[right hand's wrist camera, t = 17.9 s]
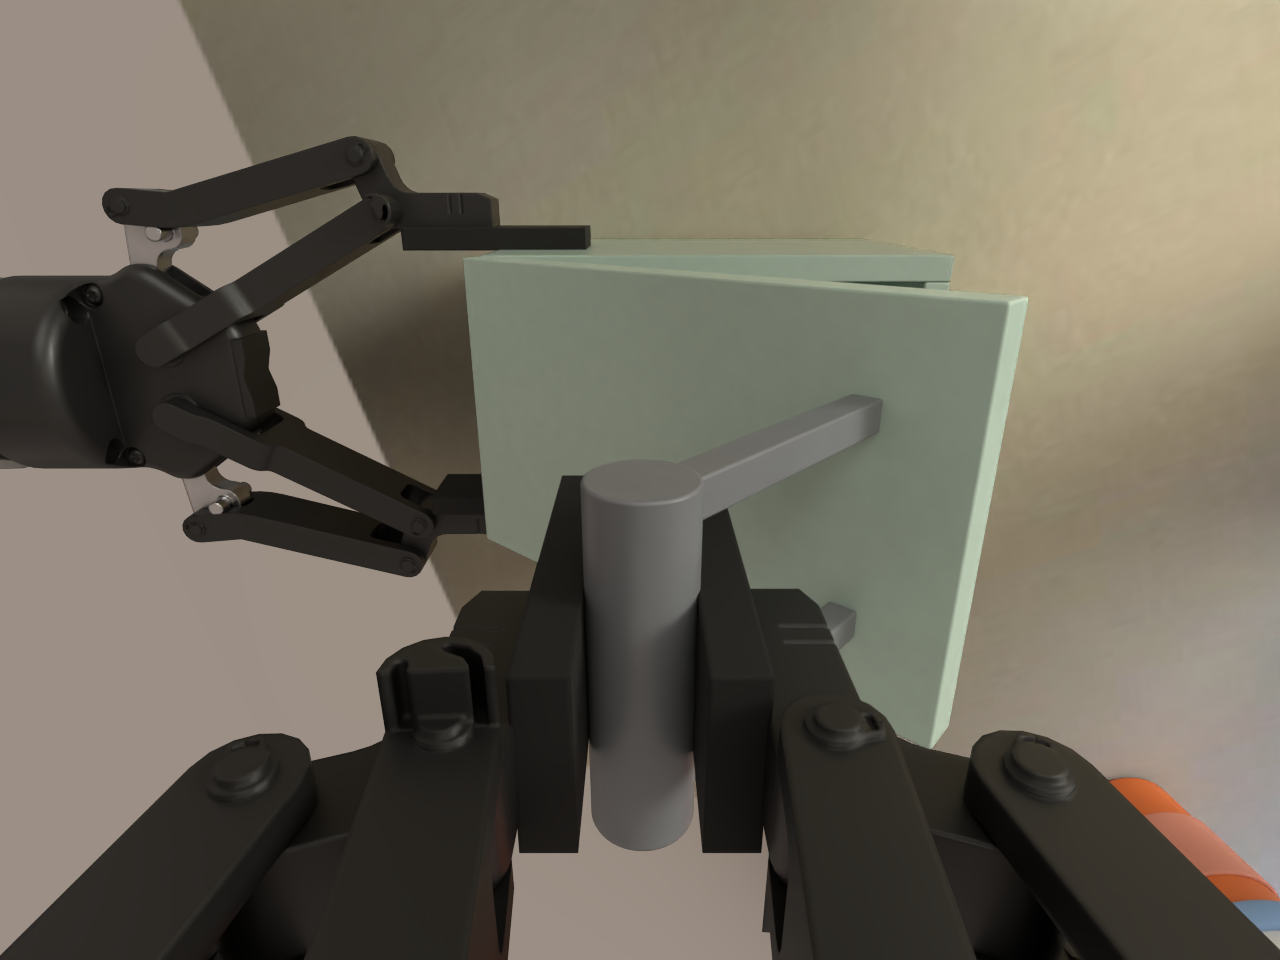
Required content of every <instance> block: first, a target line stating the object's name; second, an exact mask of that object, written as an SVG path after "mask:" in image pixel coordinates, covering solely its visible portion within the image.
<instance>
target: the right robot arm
mask: <svg viewBox="0 0 1280 960" xmlns="http://www.w3.org/2000/svg"><path fill="white" fill-rule="evenodd" d="M583 476H584V475H562V478H561V481H560V485H559V488H558V492H557V495H556V499H555V502H554V506H553V509H552V513H551V517H550V520H549V524H548V527H547V531H546V534H545V538H544V541H543V545H542V549H541V552H540V556H539V559H538V563H537V566H536V570H535V573H534V577H533V580H532V584H531V588H530V591H481V592H480V593H479V594H478V595H476V596H475V597H474V598H473V599H472V600H470V601H469V602H468V603H467V604H466V605H464V606H463V607H462V609H461V611H460V613H459V616H458V618H457V620H456V622H455V625H454V630H453V631H452V632H451V634H450V636H449V637H441V638H434V639H428V640H423V641H420V642H417V643H414V644H412V645H409V646H406V647H404V648H402V649H400V650H399V651H397V652H396V653H394V654H393V655H391V656H390V657H388V658H387V659H386V660H385V661H384V663H383V664H382V665H381V667H380V668H379V669H378V671H377V672H376V676H377V682H378V688H379V695H380V701H381V707H382V713H383V720H384V726H385V734H384V737H383V740H382V741H380V742H378V743H376V744H374V745H372V746H369V747H366V748H363V749H359V750H356V751H353V752H348V753H344V754H340V755H336V756H331V757H327V758H322V759H318V760H313V761H311V757H310V752H309V749H308V748H307V747H306V746H305V745H304V744H303V743H302V741H301V740H300V739H298V738H295V737H292V736H288V735H285V734H282V733H279V734H257V735H253V736H250V737H246V738H242V739H238V740H234V741H232V742H230V743H228V744H226V745H224V746H222V747H220V748H218V749H215V750H213V751H211V752H209V753H208V754H207V755H206V756H204V757H203V758H202V759H200V760H199V761H198V762H197V763H195V764H194V765H193V766H191V767H190V768H189V769H188V770H187V771H186V772H185V773H184V774H183V775H182V776H181V777H180V778H179V779H178V780H177V781H176V782H175V783H174V784H173V785H172V786H171V787H170V788H169V789H168V790H167V791H166V792H165V793H164V794H163V795H162V796H161V797H160V798H159V799H158V800H157V801H156V802H155V803H154V804H153V805H152V806H151V807H150V808H149V809H148V810H147V811H146V812H145V813H143V814H142V815H141V816H140V817H139V818H138V819H137V820H136V821H135V822H134V823H133V824H132V825H131V826H130V827H129V828H128V829H127V830H126V831H125V832H124V833H123V834H122V835H121V836H120V837H119V838H118V839H117V840H116V841H115V842H114V843H113V844H112V845H111V846H110V847H109V848H108V849H107V850H106V851H105V852H104V853H103V854H102V855H101V856H100V857H99V858H98V859H97V860H96V861H95V862H94V863H93V864H92V865H91V866H90V867H89V868H88V869H87V870H86V871H85V872H84V873H83V874H82V875H81V876H80V877H79V878H78V879H77V880H76V881H75V882H74V883H73V884H72V885H71V886H70V887H69V888H68V889H67V890H66V891H65V892H64V893H63V894H62V895H61V896H60V897H59V898H58V899H57V900H56V901H55V902H54V903H53V904H52V905H51V906H50V907H49V908H48V909H47V910H46V911H45V912H44V913H43V914H42V915H41V916H40V917H39V918H38V919H37V920H36V921H35V922H34V923H33V924H32V925H31V926H30V927H29V928H28V929H27V930H25V932H23V933H22V934H21V935H20V936H19V937H18V938H17V939H16V940H15V941H14V942H13V943H12V944H11V945H10V946H9V947H8V948H7V949H6V950H5V951H4V952H3V953H2V954H1V955H0V960H508V950H509V939H510V928H511V917H512V905H513V894H514V882H513V871H512V859H511V858H512V853H513V848H514V843H515V838H516V833H517V829H518V841H519V853H578V848H579V837H580V826H581V816H582V805H583V795H584V784H585V774H586V763H587V752H588V742H589V721H588V692H587V663H586V633H585V603H584V575H583V545H582V516H581V487H580V484H581V480H582V478H583ZM693 757H694V767H695V778H696V788H697V799H698V809H699V820H700V830H701V841H702V851H703V853H761V849H762V837H763V826H764V831H765V836H766V841H767V846H768V851H769V859H768V871H767V882H766V894H765V905H764V916H763V928H762V932H770V937H771V949H772V960H1280V949H1279V948H1278V947H1277V946H1276V945H1275V944H1274V943H1273V942H1272V941H1271V940H1270V939H1269V938H1268V937H1267V936H1266V935H1265V934H1264V933H1263V932H1262V931H1261V930H1260V929H1259V928H1258V927H1257V926H1256V925H1255V924H1254V923H1252V922H1251V921H1250V920H1249V919H1248V918H1247V917H1246V916H1245V915H1244V914H1243V913H1242V912H1241V911H1240V910H1239V909H1238V908H1237V907H1236V906H1235V905H1234V904H1233V903H1232V902H1231V901H1230V900H1229V899H1228V898H1227V897H1226V896H1225V895H1224V894H1223V893H1222V892H1221V891H1220V890H1219V889H1218V888H1217V887H1216V886H1215V885H1214V884H1213V883H1212V882H1211V881H1210V880H1209V879H1208V878H1207V877H1206V876H1205V875H1204V874H1203V873H1202V872H1201V871H1200V870H1199V869H1198V868H1197V867H1196V866H1195V865H1194V864H1193V863H1192V862H1191V861H1189V860H1188V859H1187V858H1186V857H1185V856H1184V855H1183V854H1182V853H1181V852H1180V851H1179V850H1178V849H1177V848H1176V847H1175V846H1174V845H1173V844H1172V843H1171V842H1170V841H1169V840H1168V839H1167V838H1166V837H1165V836H1164V835H1163V834H1162V833H1161V832H1160V831H1159V830H1158V829H1157V828H1156V827H1155V826H1154V825H1153V824H1152V823H1151V822H1150V821H1149V820H1148V819H1147V818H1146V817H1145V816H1144V815H1143V814H1142V813H1141V812H1140V811H1139V810H1138V809H1137V808H1136V807H1135V806H1134V805H1133V804H1132V803H1131V802H1130V801H1129V800H1128V799H1126V798H1125V797H1124V796H1123V795H1122V794H1121V793H1120V792H1119V791H1118V790H1117V789H1116V788H1115V787H1114V786H1113V785H1112V784H1111V783H1110V782H1109V781H1108V780H1107V779H1106V778H1105V777H1104V776H1103V775H1102V774H1101V773H1100V772H1099V771H1098V770H1097V769H1096V768H1095V767H1094V766H1093V765H1092V764H1091V763H1089V762H1088V761H1087V760H1085V759H1084V758H1083V757H1081V756H1080V755H1079V754H1077V753H1076V752H1075V751H1074V750H1072V749H1070V748H1068V747H1066V746H1064V745H1062V744H1060V743H1058V742H1056V741H1054V740H1052V739H1050V738H1047V737H1044V736H1040V735H1036V734H1032V733H1028V732H1024V731H1004V730H1000V731H996V732H993V733H990V734H986V735H983V736H982V737H981V738H980V739H979V740H978V741H977V742H976V743H975V744H974V745H973V747H972V751H971V756H970V758H967V757H963V756H958V755H954V754H950V753H945V752H941V751H936V750H932V749H928V748H925V747H921V746H918V745H915V744H912V743H909V742H907V741H905V740H903V739H901V738H898V737H897V736H896V733H895V731H894V729H893V727H892V726H891V724H890V723H889V721H888V720H887V718H886V717H885V716H884V715H883V714H882V713H880V712H879V711H878V710H876V709H875V708H874V707H873V706H871V705H870V704H868V703H866V702H863V701H861V700H860V698H859V695H858V693H857V691H856V689H855V686H854V684H853V682H852V680H851V677H850V675H849V673H848V670H847V668H846V666H845V664H844V661H843V659H842V657H841V655H840V652H839V650H838V648H837V645H835V644H834V639H833V636H832V634H831V632H830V629H829V628H827V623H826V620H825V618H824V616H823V614H822V611H821V609H820V607H819V605H818V604H817V603H816V602H814V601H813V600H812V599H811V598H810V597H808V596H807V595H806V594H805V593H804V592H802V591H801V590H800V589H750V585H749V582H748V578H747V575H746V571H745V568H744V564H743V561H742V557H741V553H740V550H739V546H738V543H737V539H736V536H735V532H734V529H733V525H732V522H731V518H730V514H729V511H728V508H727V509H725V510H723V511H721V512H719V513H717V514H715V515H713V516H711V517H709V518H707V519H705V520H703V530H702V561H701V588H700V592H699V594H698V610H697V641H696V672H695V703H694V733H693Z"/></svg>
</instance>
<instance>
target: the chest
mask: <svg viewBox="0 0 1280 960" xmlns="http://www.w3.org/2000/svg"><path fill="white" fill-rule="evenodd" d="M482 256H497V257H511V258H524V259H537V260H551V261H564V262H577V263H591V264H604V265H617V266H631V267H644V268H657V269H671V270H684V271H697V272H711V273H724V274H737V275H751V276H764V277H777V278H791V279H804V280H817V281H831V282H844V283H858V284H871V285H884V286H898V287H911V288H924V289H938V290H949V286H950V284H949V281H950V280H951V274H952V268H953V261H954V255H951V254H945V253H940V252H934V251H928V250H923V249H917V248H912V247H906V246H900V245H895V244H889V243H884V242H878V241H872V240H866V239H591V246H590V247H588V248H587V249H586V250H498V251H495V252H492V253H488V254H485V255H482Z"/></svg>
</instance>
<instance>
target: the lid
mask: <svg viewBox="0 0 1280 960" xmlns="http://www.w3.org/2000/svg"><path fill="white" fill-rule="evenodd" d="M463 266H464V278H465V289H466V301H467V312H468V324H469V336H470V347H471V359H472V370H473V382H474V393H475V405H476V416H477V428H478V439H479V451H480V463H481V474H482V486H483V497H484V509H485V520H486V532H487V538H488V539H489V540H491V541H493V542H495V543H497V544H499V545H502V546H504V547H506V548H508V549H510V550H512V551H514V552H516V553H518V554H520V555H522V556H525V557H527V558H529V559H531V560H533V561H535V562H537V563H538V559H539V556H540V552H541V549H542V545H543V541H544V538H545V534H546V531H547V527H548V524H549V520H550V517H551V513H552V509H553V506H554V502H555V499H556V495H557V492H558V488H559V485H560V481H561V478H562V475H584V476H583V478H582V480H581V484H580V487H581V516H582V545H583V575H584V603H585V633H586V663H587V692H588V721H589V751H590V780H591V808H592V817H593V821H594V823H595V825H596V827H597V829H598V830H599V832H600V833H601V834H602V835H603V836H604V837H605V838H606V839H607V840H609V841H610V842H612V843H613V844H615V845H617V846H619V847H622V848H625V849H629V850H635V851H651V850H656V849H660V848H663V847H666V846H668V845H670V844H672V843H673V842H675V841H677V840H678V839H679V838H680V837H681V836H682V835H683V834H684V833H685V832H686V830H687V829H688V827H689V825H690V823H691V821H692V817H693V810H694V780H695V779H696V778H695V767H694V757H693V733H694V703H695V672H696V641H697V610H698V594H699V592H700V588H701V561H702V530H703V520H705V519H707V518H709V517H711V516H713V515H715V514H717V513H719V512H721V511H723V510H725V509H727V508H728V511H729V514H730V518H731V522H732V525H733V529H734V532H735V536H736V539H737V543H738V546H739V550H740V553H741V557H742V561H743V564H744V568H745V571H746V575H747V578H748V582H749V585H750V589H800V590H801V591H802V592H804V593H805V594H806V595H807V596H808V597H810V598H811V599H812V600H813V601H814V602H816V603H817V604H818V605H819V607H820V609H821V611H822V614H823V616H824V618H825V620H826V623H827V628H829V629H830V632H831V634H832V636H833V639H834V644H835V645H837V648H838V650H839V652H840V655H841V657H842V659H843V661H844V664H845V666H846V668H847V670H848V673H849V675H850V677H851V680H852V682H853V684H854V686H855V689H856V691H857V693H858V695H859V698H860V700H861V701H863V702H866V703H868V704H870V705H871V706H873V707H874V708H875V709H876V710H878V711H879V712H880V713H882V714H883V715H884V716H885V717H886V718H887V720H888V721H889V723H890V724H891V726H892V727H893V729H894V731H895V733H896V735H898V736H900V737H903V738H905V739H907V740H909V741H911V742H913V743H915V744H917V745H919V746H921V747H925V748H928V749H932V747H933V746H934V745H935V743H936V742H937V741H938V739H939V738H940V737H941V735H942V734H943V733H944V731H945V730H946V729H947V727H948V726H949V721H950V715H951V710H952V705H953V699H954V694H955V689H956V683H957V678H958V673H959V667H960V662H961V657H962V651H963V646H964V641H965V635H966V630H967V625H968V619H969V614H970V609H971V603H972V598H973V593H974V587H975V582H976V577H977V571H978V566H979V561H980V555H981V550H982V545H983V539H984V534H985V529H986V523H987V518H988V513H989V507H990V502H991V497H992V491H993V486H994V481H995V475H996V470H997V465H998V459H999V454H1000V449H1001V443H1002V438H1003V433H1004V427H1005V422H1006V417H1007V411H1008V406H1009V401H1010V395H1011V390H1012V385H1013V379H1014V374H1015V369H1016V363H1017V358H1018V353H1019V347H1020V342H1021V337H1022V331H1023V326H1024V321H1025V315H1026V310H1027V305H1028V297H1026V296H1018V295H1004V294H991V293H978V292H964V291H951V290H938V289H924V288H911V287H898V286H884V285H871V284H858V283H844V282H831V281H817V280H804V279H791V278H777V277H764V276H751V275H737V274H724V273H711V272H697V271H684V270H671V269H657V268H644V267H631V266H617V265H604V264H591V263H577V262H564V261H551V260H537V259H524V258H511V257H497V256H482V257H467V258H464V259H463Z"/></svg>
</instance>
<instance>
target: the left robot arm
mask: <svg viewBox="0 0 1280 960" xmlns="http://www.w3.org/2000/svg"><path fill="white" fill-rule="evenodd" d="M394 164H395V158H394V154H393V152H392V150H391V149H390V148H389V147H388V146H387V145H386V144H384V143H381V142H378V141H374V140H369V139H365V138H361V137H356V136H351V137H346V138H342V139H339V140H336V141H333V142H329V143H326V144H323V145H320V146H316V147H313V148H310V149H306V150H303V151H300V152H297V153H293V154H290V155H287V156H284V157H280V158H277V159H274V160H270V161H267V162H264V163H261V164H257V165H254V166H251V167H248V168H244V169H241V170H238V171H235V172H231V173H228V174H225V175H221V176H218V177H215V178H212V179H208V180H205V181H202V182H199V183H195V184H192V185H189V186H185V187H182V188H179V189H176V190H164V189H136V188H113V189H109V190H108V191H106V192H105V193H104V196H103V198H102V206H103V209H104V211H105V213H106V214H107V216H108V217H109V218H110V219H111V220H113V221H114V222H116V223H119V224H123V225H124V228H125V234H126V241H127V247H128V253H129V259H130V265H129V266H126V267H124V268H123V269H121V270H120V271H118V272H117V273H115V274H113V275H111V276H12V277H7V278H0V469H13V468H26V467H33V468H137V467H150V468H154V469H158V470H161V471H163V472H166V473H168V474H170V475H172V476H174V477H177V478H182V480H183V483H184V485H185V488H186V491H187V494H188V497H189V500H190V503H191V506H192V509H193V512H194V513H193V514H192V515H191V516H189V517H188V518H187V519H186V520H184V522H183V531H184V533H185V534H186V536H187V537H188V538H189V539H191V540H193V541H195V542H213V541H225V540H237V539H243V540H247V541H251V542H256V543H261V544H265V545H269V546H274V547H278V548H282V549H286V550H291V551H295V552H299V553H304V554H308V555H313V556H317V557H321V558H326V559H330V560H335V561H339V562H343V563H348V564H352V565H356V566H361V567H365V568H370V569H374V570H378V571H383V572H387V573H391V574H396V575H400V576H405V577H414V576H416V575H418V574H419V573H420V572H421V570H422V569H423V567H424V565H425V564H426V562H427V560H428V559H429V557H430V555H431V553H432V552H433V550H434V548H435V547H436V544H437V537H438V536H439V535H442V534H478V533H480V534H487V532H486V520H485V509H484V497H483V486H482V474H447V476H446V477H445V479H444V480H443V482H442V483H441V484H440V486H439V487H438V489H437V490H435V489H433V488H431V487H429V486H427V485H425V484H422V483H420V482H418V481H416V480H414V479H412V478H410V477H408V476H406V475H404V474H402V473H400V472H397V471H395V470H393V469H391V468H389V467H387V466H385V465H383V464H381V463H379V462H377V461H375V460H372V459H370V458H368V457H366V456H364V455H362V454H360V453H358V452H356V451H354V450H352V449H349V448H347V447H345V446H343V445H341V444H339V443H337V442H335V441H333V440H331V439H329V438H327V437H324V436H322V435H320V434H318V433H316V432H314V431H312V430H310V429H308V428H307V427H306V426H305V423H304V422H303V421H302V420H300V419H299V418H297V417H295V416H293V415H291V414H289V413H287V412H284V411H282V410H280V409H278V408H276V407H278V406H279V405H280V401H279V395H278V390H277V386H276V384H275V382H274V380H273V377H272V375H271V373H270V371H269V355H270V347H269V341H268V336H267V331H266V330H260V328H259V327H258V325H257V323H256V322H258V321H259V320H261V319H263V318H264V317H266V316H267V315H269V314H271V313H272V312H274V311H276V310H277V309H279V308H280V307H282V306H283V305H284V303H286V302H287V301H289V300H290V299H292V298H294V297H295V296H297V295H299V294H300V293H302V292H303V291H305V290H307V289H308V288H310V287H311V286H313V285H315V284H316V283H318V282H320V281H321V280H323V279H324V278H326V277H328V276H329V275H331V274H333V273H334V272H336V271H337V270H339V269H341V268H342V267H344V266H345V265H347V264H349V263H350V262H352V261H354V260H355V259H357V258H358V257H360V256H362V255H363V254H365V253H367V252H368V251H370V250H371V249H373V248H375V247H376V246H378V245H379V244H381V243H383V242H384V241H386V240H388V239H389V238H391V237H392V236H394V235H396V234H397V233H399V232H401V236H402V244H403V250H586V249H587V248H588V247H590V246H591V235H590V226H500V217H499V202H498V199H497V198H495V197H492V196H490V195H487V194H485V193H417V192H414V191H412V190H410V189H409V188H407V187H406V185H405V184H404V183H403V182H402V180H401V178H400V176H399V174H398V171H397V169H396V167H395V165H394ZM353 185H356V187H357V189H358V191H359V193H360V195H361V197H362V201H361V202H359V203H357V204H356V205H354V206H353V207H351V208H349V209H348V210H346V211H345V212H343V213H342V214H340V215H338V216H337V217H335V218H334V219H332V220H331V221H329V222H327V223H326V224H324V225H323V226H321V227H320V228H318V229H316V230H315V231H313V232H312V233H310V234H308V235H307V236H305V237H304V238H302V239H301V240H299V241H297V242H296V243H294V244H293V245H291V246H290V247H288V248H286V249H285V250H283V251H282V252H280V253H279V254H277V255H275V256H274V257H272V258H271V259H269V260H268V261H266V262H264V263H263V264H261V265H260V266H258V267H256V268H255V269H253V270H252V271H250V272H249V273H247V274H245V275H244V276H242V277H241V278H239V279H237V280H236V281H234V282H232V283H230V284H228V285H225V286H223V287H221V288H219V289H217V290H215V291H213V290H211V289H210V288H208V287H207V286H205V285H203V284H202V283H200V282H199V281H197V280H196V279H194V278H193V277H191V276H190V275H188V274H186V273H185V272H183V271H182V270H180V269H179V268H177V267H175V266H173V265H172V256H173V254H174V253H175V252H176V251H177V250H178V249H182V248H186V247H189V246H191V245H192V244H193V243H194V241H195V239H196V237H197V236H198V229H197V226H212V225H220V224H224V223H229V222H233V221H236V220H239V219H243V218H246V217H250V216H253V215H256V214H260V213H263V212H266V211H270V210H273V209H276V208H280V207H283V206H287V205H290V204H293V203H297V202H300V201H303V200H307V199H310V198H313V197H317V196H320V195H323V194H327V193H330V192H333V191H337V190H340V189H343V188H347V187H350V186H353ZM258 433H260V434H258ZM227 458H229V459H231V460H233V461H235V462H237V463H239V464H242V465H244V466H246V467H248V468H250V469H253V470H258V471H272V472H274V473H277V474H279V475H281V476H283V477H285V478H287V479H289V480H292V481H294V482H296V483H298V484H300V485H302V486H305V487H307V488H309V489H311V490H313V491H315V492H317V493H320V494H322V495H324V496H326V497H328V498H331V499H333V500H335V501H337V502H339V503H341V504H343V505H345V506H348V507H350V508H352V509H354V510H356V511H358V512H356V511H352V510H347V509H343V508H339V507H335V506H330V505H326V504H322V503H318V502H313V501H309V500H305V499H301V498H296V497H292V496H288V495H284V494H278V493H273V492H262V491H258V492H251V486H250V485H249V484H248V483H246V482H241V483H239V482H235V481H230V480H227V479H225V478H224V477H223V476H221V474H220V473H219V472H218V470H217V466H218V465H220V464H221V463H222V462H224V461H225V460H226V459H227Z"/></svg>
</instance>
